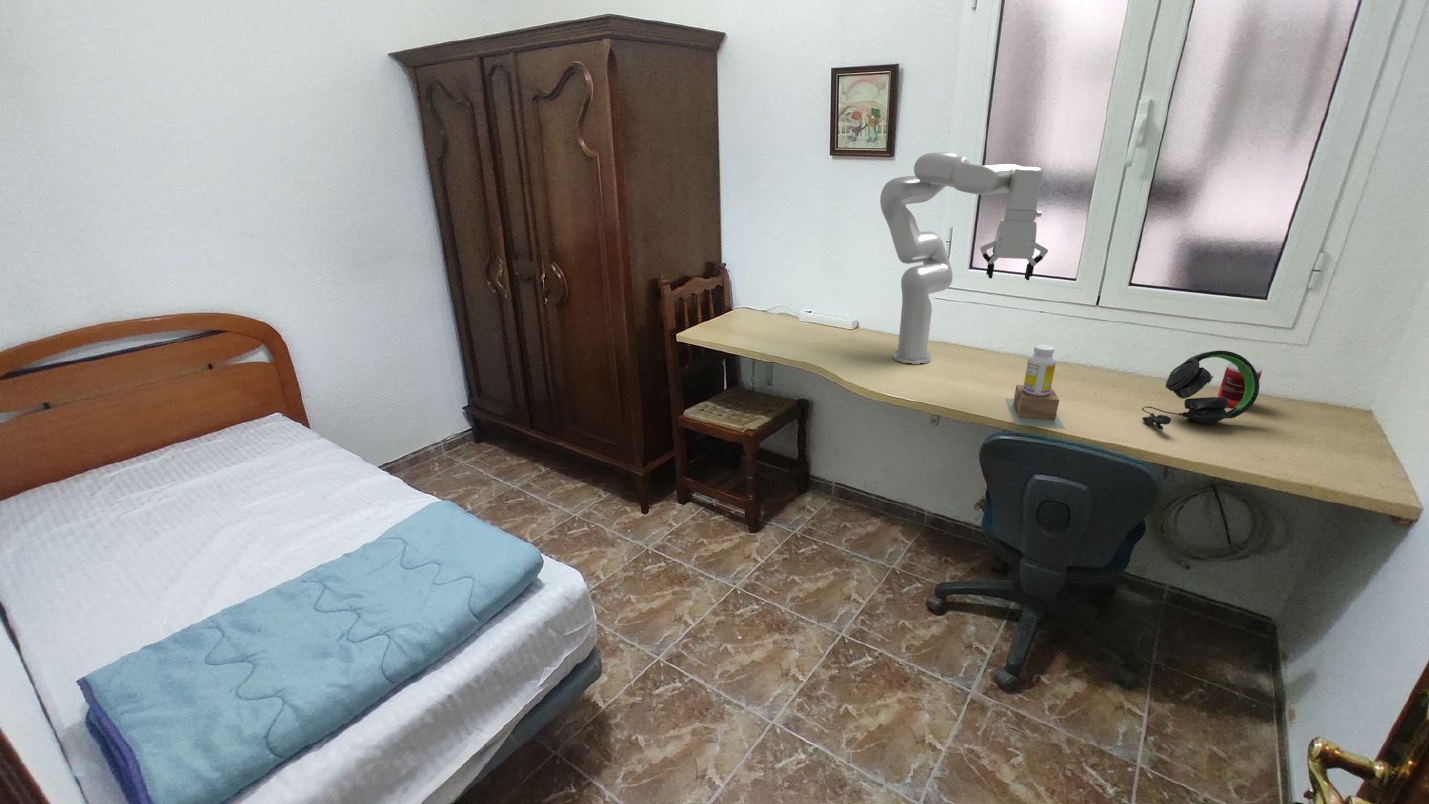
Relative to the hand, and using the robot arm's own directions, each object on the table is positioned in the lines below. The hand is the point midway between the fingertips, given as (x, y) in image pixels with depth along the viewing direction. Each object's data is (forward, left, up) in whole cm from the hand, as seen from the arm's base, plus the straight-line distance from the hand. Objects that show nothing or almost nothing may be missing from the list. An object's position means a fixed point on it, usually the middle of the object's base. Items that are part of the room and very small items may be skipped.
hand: (1008, 278), depth 180 cm
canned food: (-1, +64, -34) cm, 72 cm away
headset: (+15, +48, -34) cm, 61 cm away
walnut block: (+17, +9, -33) cm, 38 cm away
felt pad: (+17, +9, -34) cm, 39 cm away
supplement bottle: (+17, +8, -27) cm, 33 cm away
